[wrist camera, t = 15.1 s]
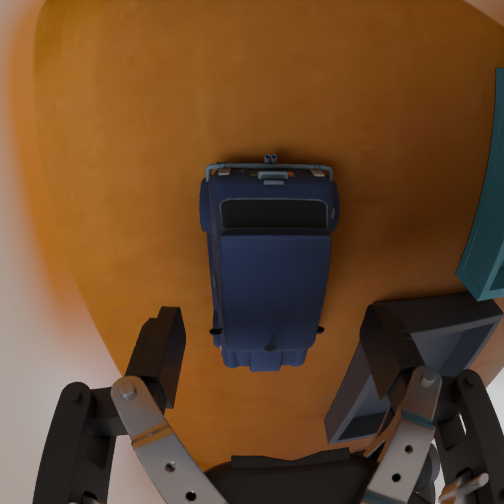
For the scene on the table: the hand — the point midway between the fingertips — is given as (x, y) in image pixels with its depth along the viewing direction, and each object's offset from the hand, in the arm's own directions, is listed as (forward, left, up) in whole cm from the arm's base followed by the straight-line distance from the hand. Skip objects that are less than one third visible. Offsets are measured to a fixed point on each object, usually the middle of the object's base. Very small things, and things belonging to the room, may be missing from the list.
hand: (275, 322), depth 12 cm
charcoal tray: (+12, +13, -4) cm, 18 cm away
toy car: (0, 0, -5) cm, 5 cm away
